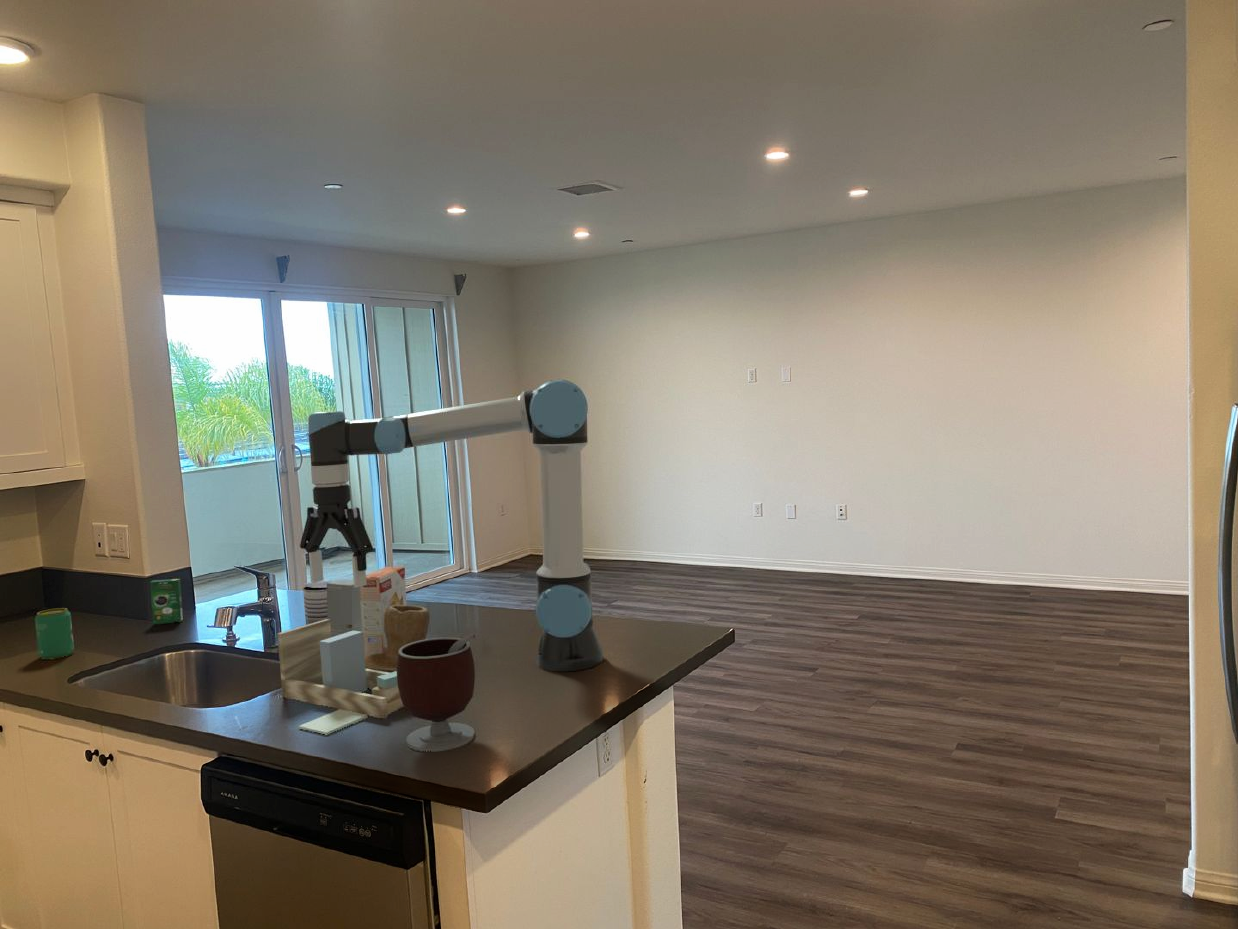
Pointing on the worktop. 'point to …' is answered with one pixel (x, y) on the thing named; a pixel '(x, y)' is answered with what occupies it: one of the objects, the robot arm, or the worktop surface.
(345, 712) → the pad
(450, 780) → the worktop surface
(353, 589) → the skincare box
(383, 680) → the offcut teal
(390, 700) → the offcut pine
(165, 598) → the coffee box
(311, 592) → the can
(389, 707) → the offcut oak
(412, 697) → the mate gourd
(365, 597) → the cracker box
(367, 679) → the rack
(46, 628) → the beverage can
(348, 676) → the tall white upright block
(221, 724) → the worktop surface
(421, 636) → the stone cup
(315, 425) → the robot arm
